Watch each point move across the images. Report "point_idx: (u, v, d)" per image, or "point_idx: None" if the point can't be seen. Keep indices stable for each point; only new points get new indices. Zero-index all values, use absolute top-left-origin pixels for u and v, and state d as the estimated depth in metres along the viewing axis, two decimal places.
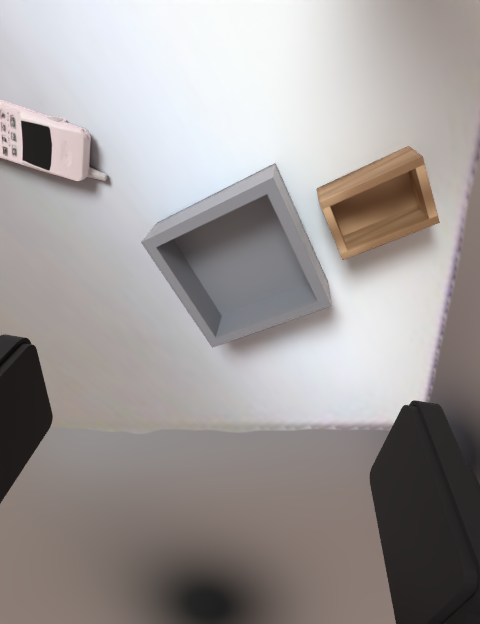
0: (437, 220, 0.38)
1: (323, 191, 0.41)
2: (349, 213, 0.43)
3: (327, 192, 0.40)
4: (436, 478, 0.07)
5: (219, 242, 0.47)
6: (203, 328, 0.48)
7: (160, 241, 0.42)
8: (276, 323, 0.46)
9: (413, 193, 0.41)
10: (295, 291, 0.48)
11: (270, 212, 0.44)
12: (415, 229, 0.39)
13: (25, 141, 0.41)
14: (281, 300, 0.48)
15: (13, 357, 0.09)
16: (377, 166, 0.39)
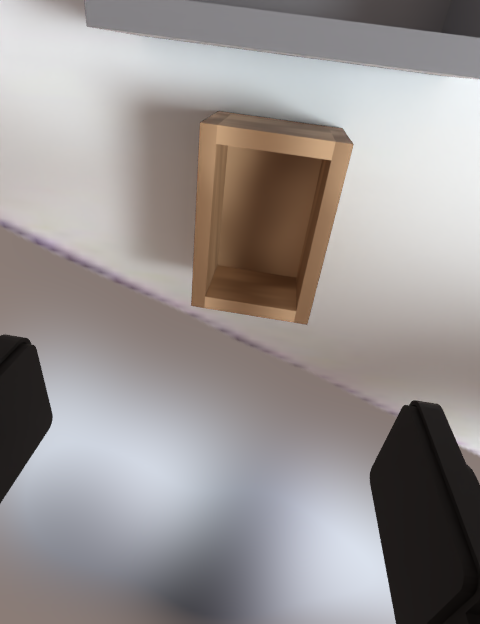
0: (196, 304, 0.23)
1: None
2: (264, 164, 0.22)
3: None
4: (436, 478, 0.07)
5: None
6: None
7: None
8: None
9: (239, 267, 0.26)
10: None
11: None
12: (197, 272, 0.22)
13: None
14: None
15: (13, 357, 0.09)
16: None
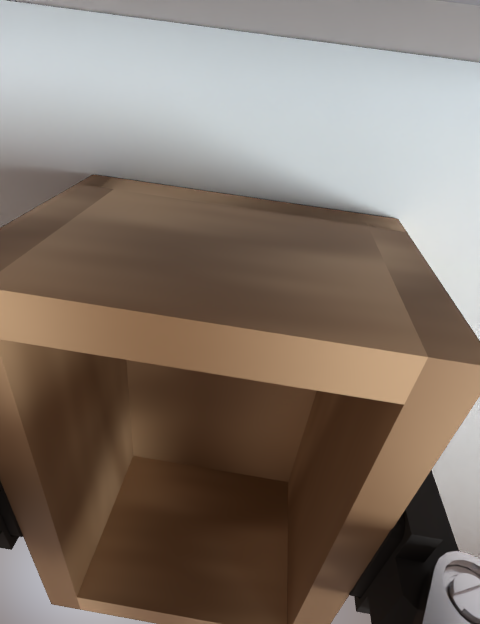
0: (61, 604, 0.10)
1: None
2: None
3: None
4: None
5: None
6: None
7: None
8: None
9: (175, 461, 0.13)
10: None
11: None
12: (45, 567, 0.09)
13: None
14: None
15: None
16: None
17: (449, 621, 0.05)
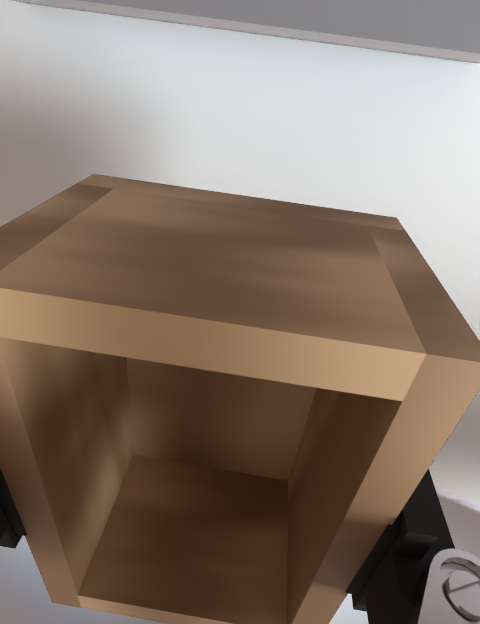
0: (62, 602, 0.10)
1: None
2: None
3: None
4: None
5: None
6: None
7: None
8: None
9: (175, 460, 0.13)
10: None
11: None
12: (46, 565, 0.09)
13: None
14: None
15: None
16: None
17: (445, 618, 0.05)
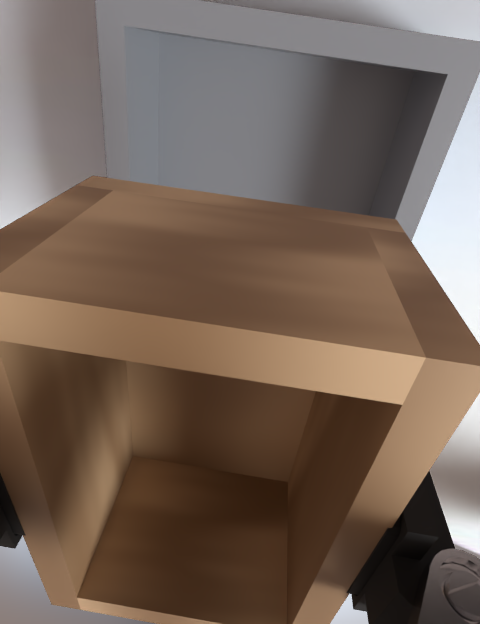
0: (61, 604, 0.10)
1: None
2: None
3: None
4: None
5: (316, 159, 0.23)
6: (168, 10, 0.16)
7: (447, 99, 0.16)
8: None
9: (175, 461, 0.13)
10: None
11: None
12: (46, 567, 0.09)
13: None
14: None
15: None
16: None
17: (445, 618, 0.05)
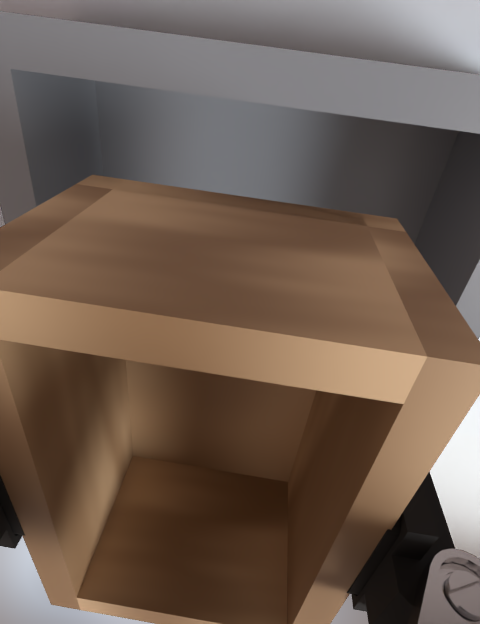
0: (61, 604, 0.10)
1: None
2: None
3: None
4: None
5: None
6: (77, 45, 0.10)
7: None
8: None
9: (175, 461, 0.13)
10: None
11: None
12: (45, 567, 0.09)
13: None
14: None
15: None
16: None
17: (445, 618, 0.05)
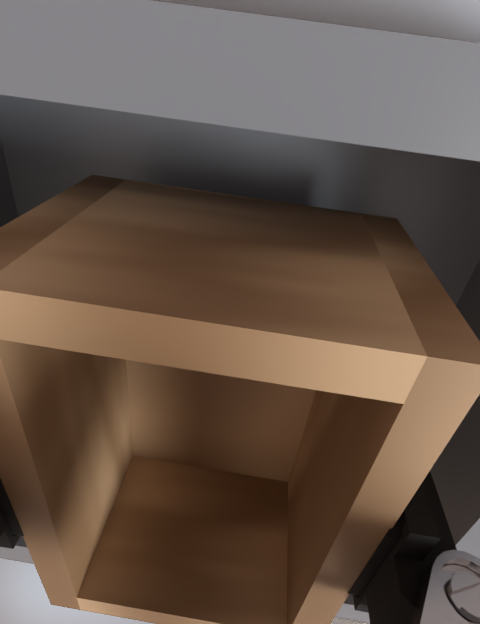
0: (61, 604, 0.10)
1: None
2: None
3: None
4: None
5: None
6: None
7: None
8: None
9: (175, 461, 0.13)
10: None
11: None
12: (45, 567, 0.09)
13: None
14: None
15: None
16: None
17: (447, 620, 0.05)
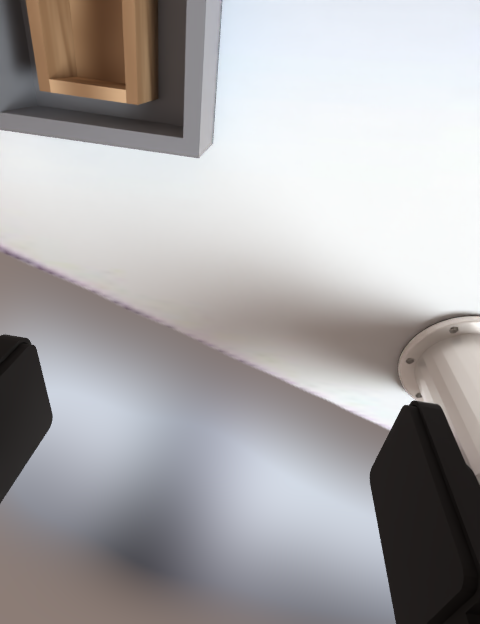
0: (43, 89, 0.27)
1: None
2: None
3: None
4: (436, 478, 0.07)
5: None
6: None
7: None
8: None
9: (95, 78, 0.30)
10: (24, 67, 0.30)
11: (158, 103, 0.31)
12: (37, 52, 0.25)
13: None
14: (12, 36, 0.28)
15: (13, 357, 0.09)
16: (150, 43, 0.27)
17: None
